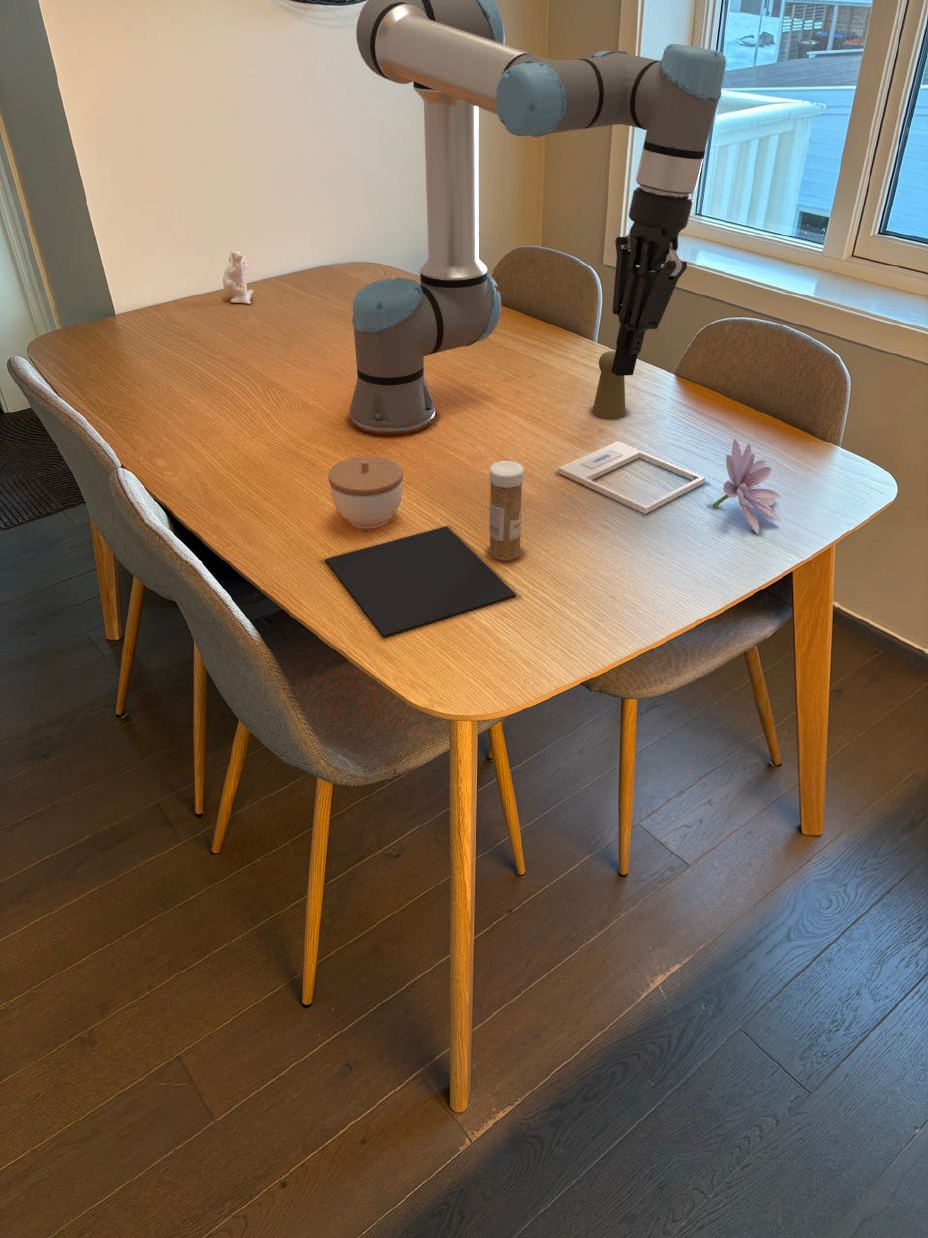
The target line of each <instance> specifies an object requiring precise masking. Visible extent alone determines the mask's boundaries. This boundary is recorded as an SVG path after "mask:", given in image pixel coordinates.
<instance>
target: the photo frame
mask: <svg viewBox="0 0 928 1238" xmlns="http://www.w3.org/2000/svg"><path fill="white" fill-rule="evenodd" d="M637 459H642V460H644V461H646V462H649V463H651V464H653V465H655V466H658V467H660V468H662V469H665V470H668V471H669V472H671V473H675V474H677V475H680V476H681V477H684V478H686V479H688V480H691V481H690V482H687V483H686V484H684V485H682V486H679V487H678V488H676V489H674V490H672V491H670V492H668V493H666V494H664V495H662V496H660V497H659V498H657V499H655V500H653V501H650V502H649V503H647V504H643V503H641V502H639V501H637V500H635V499H632V498H631V497H628V496H626V495H624V494H622V493H619V492H617V491H615V490H613V489H611V488H609V487H607V486H604V485H602V484H600V483H598V482H595V481H594V480H595V479H597V478H599V477H602V476H603V475H605V474H608V473H610V472H612V471H614V470H616V469H618V468H620V467H622V466H625V465H626V464H629V463H631V462H633V461H635V460H637ZM557 473H558V474H559V475H562V476H564V477H566V478H568V479H570V480H572V481H574V482H577V483H579V484H581V485H583V486H585V487H587V488H589V489H591V490H594V491H596V492H598V493H600V494H602V495H603V496H606V497H608V498H611V499H612V500H615V501H617V502H619V503H621V504H623V505H626V506H628V507H630V508H632V509H634V510H636V511H638V512H640V513H643V514H645V515H646V514H648V513H649V512H652V511H654V510H656V509H657V508H660V507H661V506H663V505H665V504H667V503H669V502H671V501H673V500H675V499H677V498H678V497H680V496H682V495H684V494H687V493H688V492H690V491H692V490H694V489H696V488H698V487H699V486H701V485H703V484H705V481H706V477H705V476H703V475H700V474H697V473H695V472H693V471H690V470H688V469H686V468H684V467H681V466H678V465H676V464H673V463H671V462H669V461H666V460H663V459H661V458H659V457H657V456H654V455H652V454H650V453H648V452H645V451H643V450H640V449H638V448H635V447H633V446H631V445H629V444H626V443H623V442H621V441H618V440H616V441H613V442H612V443H610V444H608V445H606V446H605V445H604V446H603V447H601V448H599V449H596V450H594V451H592V452H590V453H588V454H586V455H583V456H580V457H578V458H576V459H574V460H572V461H570V462H567V463H565V464H562V465H561V466H558V468H557Z"/></svg>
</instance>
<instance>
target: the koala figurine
mask: <svg viewBox="0 0 928 1238" xmlns="http://www.w3.org/2000/svg"><path fill="white" fill-rule="evenodd" d="M246 259H247V258H246V257H245V256H244V255H242V254H241V251H240V250H231V251H230V254H228V262H229V264H228V265H227V267H226V268H225V270H224V274H223V277H222V286H223V289H224V291H225V292H226V293H228V294H235V295H233V296H232V299H230V302H231V303H236V304H237V303H240V304H248V305H249V304H252V302H251V299H252V295H253V293H254V290H252V289H249V290H248V286H247V281H246V270H247V269H248V267H249V265H248V264H247V261H246Z"/></svg>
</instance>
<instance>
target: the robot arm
mask: <svg viewBox="0 0 928 1238" xmlns="http://www.w3.org/2000/svg"><path fill="white" fill-rule="evenodd" d="M355 30H356V31H355V32H356V33H355V35H356V43H357V48H358V51H359V54H360V56H361V58H362V60H363V61H364V63H365V64H366V66H367V67H368V68H369V69H370V70H371V71H372V72H373V73H374V74H376V75H378V76H379V77H381V78H383V79H385V80H388V81H391V82H393V83H396V84H399V85H400V84H401V85H407V84H411V83H412V84H413V90H414V91H415V93H417V95H418V96H419V97H420V99H422V101H423V120H424V121H423V123H424V124H423V125H424V127H423V128H424V153H425V154H424V158H425V183H426V184H425V187H426V190H425V192H426V215H427V216H426V221H427V222H426V223H427V257H428V258H427V260H426V261H425V262H424V263H423V264H422V266H420V269H419V276H420V277H419V278H420V279H419V280H420V281H419V282H420V283H419V282H418V281H417V280H414V279H412V278H408V277H407V278H406V277H396V278H394V279H392V278H386V279H380V280H377V281H374V282H371V283H368V284H366V285H365V286H363V287H361V288H360V289H359V290H358V291H357V293H356V294H355V296H354V298H353V301H352V318H351V322H352V327H353V335H354V348H355V360H356V361H355V363H356V373H357V379H356V384H355V388H354V390H353V395H352V399H351V403H350V407H349V418H350V420H349V421H350V423H351V425H352V426H353V427H354V428H355V429H357V430H358V431H361V432H363V433H366V434H369V435H374V436H380V437H381V436H382V437H398V436H407V435H412V434H416V433H419V432H421V431H424V430H426V429H428V428H429V427H431V425H433V423H434V422H435V421H436V408H435V407H436V406H435V403H434V400H433V396H432V395H431V392H430V390H429V386H428V384H427V381H426V379H425V371H424V369H425V368H424V363H425V361H424V358H425V357H426V356H430V355H434V354H438V353H442V352H446V351H451V350H454V349H458V348H463V347H469V346H473V345H475V344H476V343H479V342H481V341H484V340H486V339H487V338H489V337H490V336H492V334H493V333H494V332H495V329H496V328H497V326H498V324H499V321H500V318H501V311H502V300H501V293H500V291H498V284H497V282H496V281H495V278H493V277H492V276H491V275H490V274H488V267H487V266H486V264H485V263H484V262H483V261H482V260H481V259H480V258H479V108H480V109H482V110H484V111H487V112H489V113H491V114H494V115H497V116H498V119H499V121H500V123H501V124H503V125H504V127H505V128H504V129H505V131H507V132H508V133H510V134H511V135H513V136H517V137H533V138H534V137H537V138H538V137H543V136H546V135H550V134H557V133H558V134H559V133H563V132H564V133H565V132H570V131H571V132H572V131H578V130H586V129H593V128H601V127H609V126H617V125H618V126H619V125H622V126H629V127H633V128H636V129H637V128H638V129H641V130H643V131H646V132H645V137H644V142H643V146H642V151H641V154H640V159H639V164H638V167H637V172H636V176H635V181H636V183H637V185H638V186H637V187H636V188H635V189H634V190H633V193H632V197H631V202H630V207H629V210H628V218H629V219H630V221H632V222H633V223H632V225H631V227H630V229H629V232H628V234H626V235H625V236H617V237H615V242H614V243H615V252H616V262H615V274H614V285H613V298H612V299H613V300H612V314H613V315H614V316H615V315H616V316H617V317H618V322H619V327H618V333H617V337H616V345H615V346H616V349H615V351H616V352H615V357H614V361H613V366H612V370H611V372H612V373H613V374H615V375H616V376H624V377H625V376H634V372H635V368H636V365H637V364H636V363H637V359H638V357H639V355H640V353H641V350H642V346H643V343H644V338H645V334H646V332H647V331H648V330H658V328H659V326H660V324H661V322H662V319H663V316H664V314H665V311H666V309H667V307H668V305H669V302H670V301H671V297H672V295H673V293H674V290H675V289H676V286H677V283H678V281H679V279H680V278H681V276H682V275H684V272H685V271H686V270H687V269H688V262H687V261H686V260H681V259H680V258H679V254H678V253H677V251H678V248H679V234H680V232H681V231H682V230H685V229H686V228H687V226H688V223H689V221H690V220H689V219H690V216H691V212H692V208H693V203H694V199H693V197H692V196H690V194H694V193H695V192H696V190H697V186H698V183H699V179H700V178H699V177H700V173H701V170H702V165H703V162H704V158H705V154H706V149H707V144H708V141H709V136H710V134H711V131H712V127H713V123H714V120H715V116H716V112H717V109H718V106H719V101H720V99H721V98H722V97H721V96H722V88H723V83H724V78H725V72H726V67H727V58H726V56H725V55H724V53H723V52H721V51H720V50H714V49H709V48H703V47H698V46H693V45H686V44H679V43H670V44H668V45H667V46H665V48H664V50H663V54H662V57H661V59H660V60H657V59H652V58H648V57H644V56H638V55H634V54H631V53H628V52H626V51H622V50H616V51H611V50H600V51H598V52H595V53H594V54H593V55H592V56H591V57H587V58H586V57H585V58H576V59H562V60H557V59H549V58H546V57H543V56H540V55H537V54H533V53H531V52H528V51H525V50H522V49H519V48H516V47H513V46H511V45H508V44H505V43H506V41H505V40H506V39H505V37H506V36H505V27H504V20H503V17H502V13H501V11H500V8H499V6H498V3H497V2H496V1H495V0H367V1H366V2H365V3H364V5H363V7H362V8H361V10H360V13H359V16H358V18H357V22H356V29H355Z"/></svg>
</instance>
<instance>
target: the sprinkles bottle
mask: <svg viewBox="0 0 928 1238" xmlns="http://www.w3.org/2000/svg"><path fill="white" fill-rule="evenodd" d="M524 477H525V469H524V467H523V465H522V464H520V463H518V462H516V461H511V460H501V461H498V462H495V463H493V464H492V465H490V467H489V478H488V480H489V484H490V493H489V494H490V496H489V497H490V499H489V548H488V554H489V555H490V557H491V558H493V559H495V560H497V561H502V562H503V561H504V562H507V561H508V562H509V561H510V562H511V561H513V560H516V559H518V557H520V555H521V553H522V551H521V533H522V508H523V507H522V505H523V504H522V490H523V483H524V479H525V478H524Z"/></svg>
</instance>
